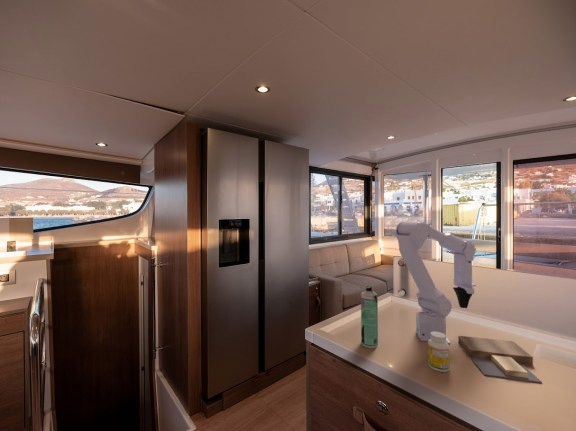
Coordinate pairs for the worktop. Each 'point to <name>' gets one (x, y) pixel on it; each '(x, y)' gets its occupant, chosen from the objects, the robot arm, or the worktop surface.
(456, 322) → the worktop surface
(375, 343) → the spray can
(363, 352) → the worktop surface
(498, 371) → the rubber mat
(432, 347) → the supplement bottle
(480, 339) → the walnut deck
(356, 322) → the worktop surface
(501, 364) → the birch tile
